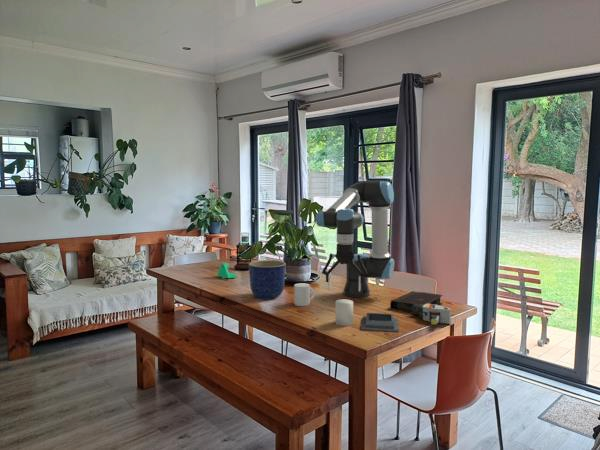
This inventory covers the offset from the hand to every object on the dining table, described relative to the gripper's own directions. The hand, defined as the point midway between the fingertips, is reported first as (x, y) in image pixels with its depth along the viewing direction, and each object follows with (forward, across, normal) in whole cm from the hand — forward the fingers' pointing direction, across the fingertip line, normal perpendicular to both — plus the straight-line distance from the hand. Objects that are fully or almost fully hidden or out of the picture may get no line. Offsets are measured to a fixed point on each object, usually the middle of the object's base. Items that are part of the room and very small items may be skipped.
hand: (344, 290), depth 198 cm
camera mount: (+15, -85, +84) cm, 121 cm away
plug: (+15, 0, 0) cm, 15 cm away
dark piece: (+15, -83, +114) cm, 142 cm away
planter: (+15, -46, +39) cm, 62 cm away
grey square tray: (+15, +16, 0) cm, 22 cm away
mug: (+15, -23, +29) cm, 40 cm away
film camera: (+16, +38, +9) cm, 42 cm away
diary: (+15, +35, +34) cm, 52 cm away
